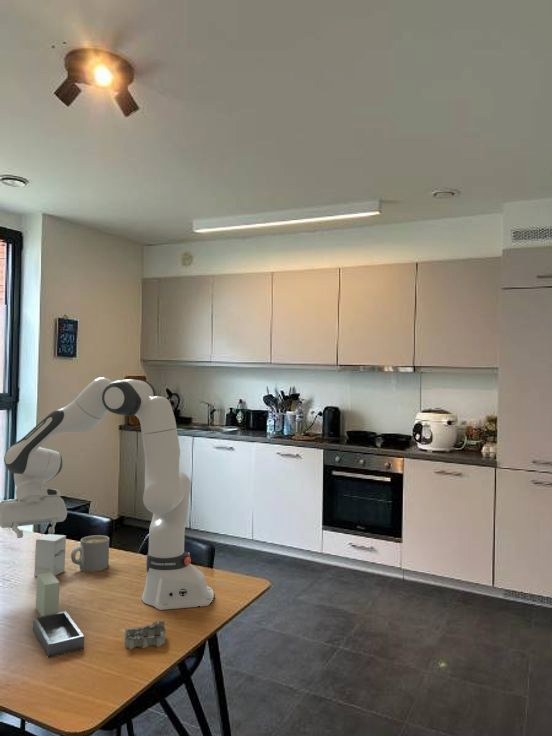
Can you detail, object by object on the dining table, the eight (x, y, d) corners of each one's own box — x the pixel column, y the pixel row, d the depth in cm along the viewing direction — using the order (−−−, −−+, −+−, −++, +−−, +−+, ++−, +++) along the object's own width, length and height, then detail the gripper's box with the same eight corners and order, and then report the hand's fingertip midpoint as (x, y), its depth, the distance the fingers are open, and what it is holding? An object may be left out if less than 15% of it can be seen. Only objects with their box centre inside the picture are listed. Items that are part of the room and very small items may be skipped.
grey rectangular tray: (65, 622, 156) (65, 611, 156) (83, 649, 141) (84, 636, 141) (32, 630, 151) (33, 617, 151) (48, 658, 136) (48, 644, 136)
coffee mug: (104, 560, 208) (105, 533, 208) (111, 568, 199) (112, 541, 200) (67, 566, 201) (68, 538, 201) (72, 574, 192) (73, 545, 193)
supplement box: (53, 578, 189) (54, 541, 189) (33, 576, 190) (34, 539, 190) (65, 570, 196) (66, 535, 196) (46, 568, 198) (47, 533, 198)
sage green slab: (49, 604, 167) (51, 571, 168) (58, 617, 159) (59, 582, 159) (35, 607, 165) (37, 574, 165) (43, 620, 157) (44, 584, 157)
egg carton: (165, 635, 151) (166, 620, 151) (165, 648, 143) (165, 632, 143) (125, 637, 149) (125, 621, 149) (122, 650, 141) (123, 634, 141)
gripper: (-2, 495, 176) (1, 534, 168) (64, 490, 188) (71, 526, 180) (-5, 506, 180) (-2, 544, 172) (60, 500, 192) (66, 536, 184)
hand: (36, 535), depth 176 cm, fingers open, 8 cm apart
